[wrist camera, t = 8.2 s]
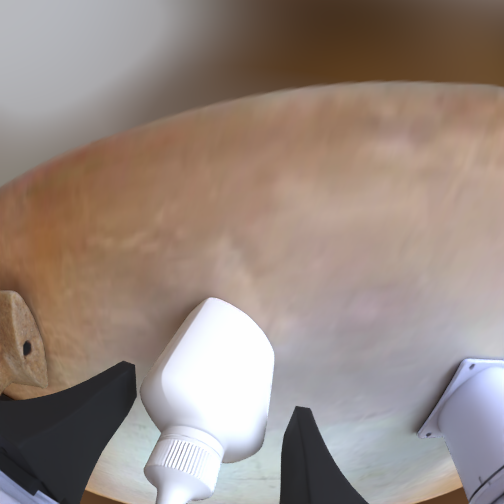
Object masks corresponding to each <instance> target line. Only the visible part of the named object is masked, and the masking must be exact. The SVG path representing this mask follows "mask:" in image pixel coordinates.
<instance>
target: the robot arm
mask: <svg viewBox="0 0 504 504" xmlns="http://www.w3.org/2000/svg"><path fill="white" fill-rule="evenodd" d="M136 397H137V391H136V374H135V365H134V364H131V363H128V362H126V361H122V362H120V363H118V364H116V365H115V366H113V367H111V368H109V369H107V370H106V371H104V372H102V373H100V374H98V375H96V376H94V377H92V378H90V379H89V380H87V381H84V382H82V383H80V384H78V385H76V386H73V387H71V388H68V389H66V390H63V391H60V392H57V393H54V394H50V395H46V396H42V397H37V398H32V399H26V400H16V401H0V504H80V501H81V498H82V495H83V492H84V490H85V487H86V485H87V483H88V480H89V478H90V476H91V473H92V471H93V469H94V467H95V465H96V463H97V461H98V459H99V457H100V455H101V453H102V451H103V450H104V448H105V446H106V445H107V443H108V442H109V440H110V439H111V438H112V436H113V435H114V433H115V432H116V431H117V429H118V428H119V426H120V425H121V423H122V422H123V420H124V419H125V418H126V416H127V415H128V413H129V411H130V409H131V407H132V405H133V403H134V401H135V399H136ZM417 435H418V437H419V438H435V437H443V438H444V440H445V443H446V445H447V447H448V450H449V452H450V454H451V457H452V459H453V462H454V464H455V467H456V469H457V472H458V474H459V477H460V479H461V482H462V485H463V487H464V490H465V493H466V496H467V498H468V501H469V504H504V360H485V359H465V360H464V361H462V363H461V364H460V366H459V368H458V370H457V372H456V373H455V375H454V377H453V379H452V381H451V382H450V384H449V386H448V387H447V389H446V391H445V392H444V394H443V396H442V397H441V399H440V401H439V402H438V404H437V405H436V407H435V408H434V410H433V411H432V413H431V414H430V416H429V417H428V419H427V420H426V422H425V423H424V425H423V426H422V427H421V429H420V430H419V432H418V433H417ZM280 504H369V503H368V502H366V501H365V500H364V499H363V498H362V496H361V495H360V494H359V493H358V492H357V491H356V490H355V489H354V488H353V487H352V485H351V484H350V483H349V482H348V480H347V479H346V478H345V476H344V475H343V474H342V472H341V471H340V469H339V468H338V466H337V465H336V463H335V461H334V460H333V458H332V456H331V454H330V453H329V451H328V449H327V447H326V445H325V443H324V441H323V439H322V436H321V434H320V432H319V430H318V427H317V425H316V422H315V420H314V417H313V414H312V411H311V409H310V408H305V407H299V406H296V407H295V409H294V412H293V414H292V417H291V419H290V422H289V424H288V426H287V429H286V431H285V434H284V438H283V445H282V452H281V491H280Z"/></svg>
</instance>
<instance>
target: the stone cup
mask: <svg viewBox="0 0 504 504" xmlns="http://www.w3.org/2000/svg"><path fill="white" fill-rule="evenodd" d="M11 383H16V384H23V385H31V386H36V387H41V388H46V387H47V386H48V377H47V365H46V359H45V352H44V347H43V342H42V338H41V336H40V333H39V330H38V327H37V325H36V323H35V320H34V318H33V316H32V314H31V312H30V310H29V308H28V307H27V305H26V304H25V302H24V300H23V298H22V297H21V296H20V295H19V294H18V293H17V292H15V291H10V290H4V291H1V290H0V395H1V393H2V392H3V390H4V389H5V388H6V387H7V386H8V385H10V384H11Z"/></svg>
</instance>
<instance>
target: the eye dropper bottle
mask: <svg viewBox="0 0 504 504" xmlns="http://www.w3.org/2000/svg"><path fill="white" fill-rule="evenodd" d="M274 358H275V356H274V352H273V349H272V347H271V345H270V343H269V341H268V339H267V337H266V336H265V334H264V333H263V331H262V330H261V329H260V328H259V326H258V325H257V324H256V323H255V322H254V321H253V320H252V319H251V318H250V317H248V316H247V315H246V314H245V313H243V312H242V311H241V310H239V309H238V308H236V307H234V306H233V305H231V304H229V303H227V302H225V301H223V300H221V299H218V298H212V297H210V298H208V299H205V300H204V301H203V302H201V303H200V304H199V305H198V306H197V307H196V308H195V309H194V310H193V311H192V312H191V313H190V314H189V315H188V316H187V318H186V319H185V320H184V322H183V323H182V325H181V326H180V328H179V329H178V330H177V332H176V333H175V335H174V336H173V337H172V339H171V340H170V342H169V343H168V345H167V346H166V347H165V349H164V350H163V352H162V353H161V355H160V356H159V358H158V359H157V360H156V362H155V363H154V365H153V366H152V368H151V369H150V371H149V372H148V374H147V376H146V377H145V379H144V381H143V383H142V385H141V387H140V396H141V400H142V403H143V405H144V407H145V409H146V411H147V413H148V414H149V416H150V418H151V419H152V421H153V422H154V424H155V425H156V426H157V428H158V429H159V430H160V432H161V435H160V437H159V439H158V441H157V443H156V445H155V447H154V449H153V451H152V453H151V455H150V457H149V459H148V461H147V463H146V465H145V467H144V474H145V476H146V478H147V480H148V481H149V482H150V483H151V484H152V485H153V486H155V487H156V488H157V498H156V504H187V502H188V501H190V500H193V501H198V500H204V499H207V498H209V497H211V496H212V494H213V492H214V488H215V485H216V481H217V478H218V474H219V470H220V467H221V463H234V462H238V461H241V460H244V459H246V458H248V457H250V456H252V455H254V454H255V453H257V452H258V451H259V450H260V448H261V447H262V444H263V441H264V436H265V430H266V425H267V417H268V410H269V403H270V395H271V387H272V378H273V369H274Z"/></svg>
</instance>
